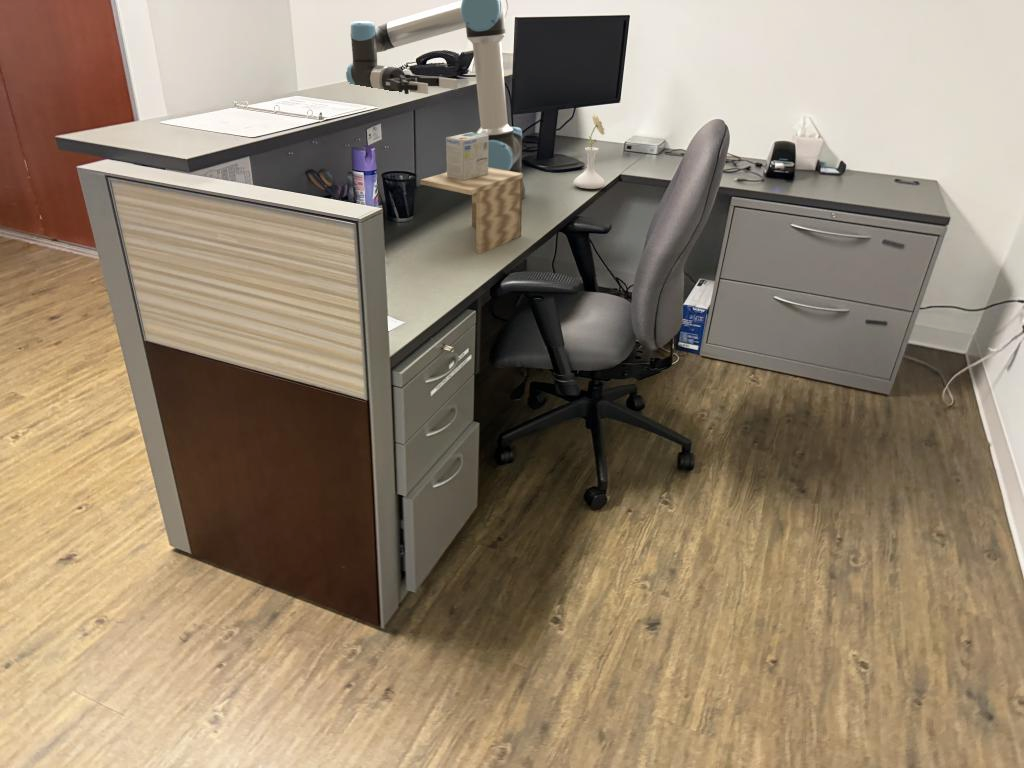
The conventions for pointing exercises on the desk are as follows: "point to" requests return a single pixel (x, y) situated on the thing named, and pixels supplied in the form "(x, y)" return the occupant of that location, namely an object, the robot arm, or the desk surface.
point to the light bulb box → (467, 155)
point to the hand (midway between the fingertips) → (442, 86)
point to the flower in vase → (591, 164)
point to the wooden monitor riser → (489, 204)
